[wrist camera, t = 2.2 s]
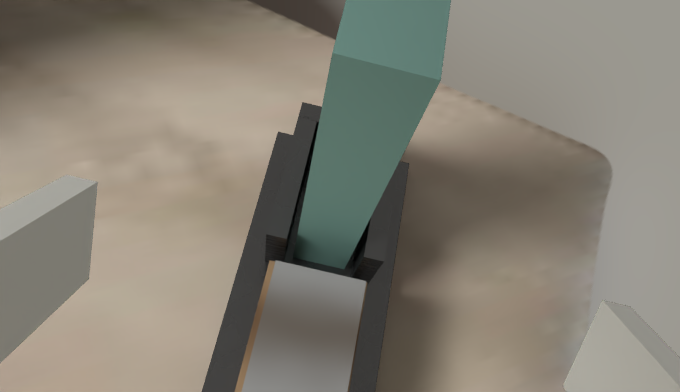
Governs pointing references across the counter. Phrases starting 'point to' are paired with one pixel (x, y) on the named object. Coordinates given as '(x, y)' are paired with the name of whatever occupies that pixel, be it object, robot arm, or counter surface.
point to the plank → (368, 117)
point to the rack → (279, 243)
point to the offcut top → (306, 332)
